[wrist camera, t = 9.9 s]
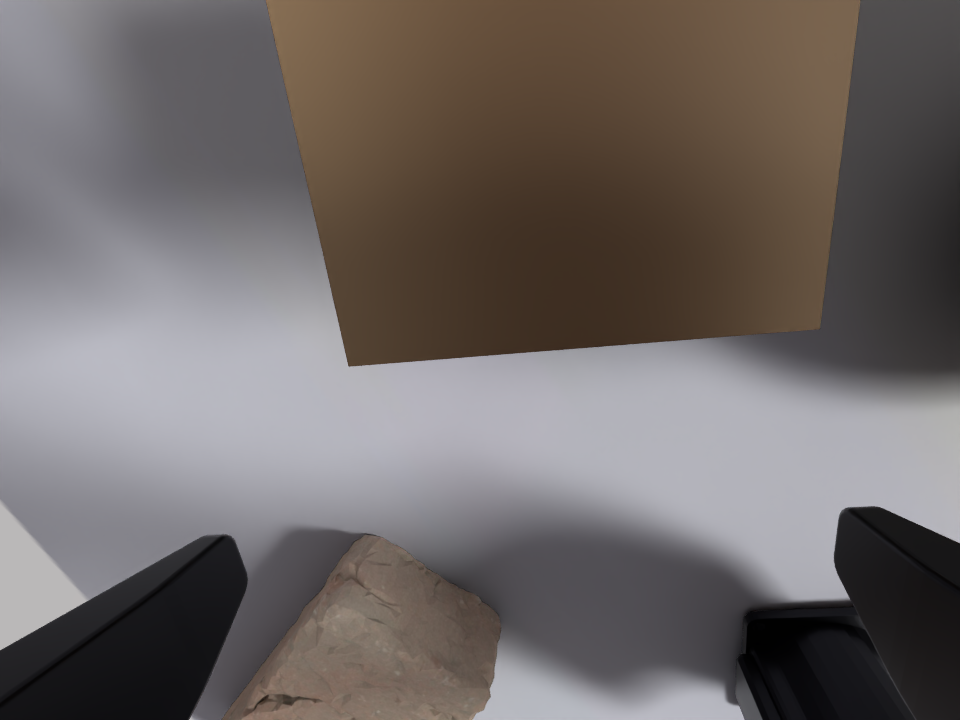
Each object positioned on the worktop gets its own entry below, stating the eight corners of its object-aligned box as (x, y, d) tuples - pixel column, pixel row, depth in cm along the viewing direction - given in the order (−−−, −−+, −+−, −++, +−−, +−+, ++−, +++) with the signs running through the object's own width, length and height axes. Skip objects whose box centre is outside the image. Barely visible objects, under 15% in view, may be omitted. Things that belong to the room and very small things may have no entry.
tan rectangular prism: (657, -17, 10) (908, -388, 3) (656, 239, 12) (820, 329, 5) (412, 25, 10) (216, -215, 4) (446, 262, 12) (348, 366, 6)
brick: (361, 520, 23) (321, 605, 18) (511, 609, 24) (506, 710, 19) (225, 703, 29) (170, 800, 24) (350, 767, 30) (318, 871, 25)
